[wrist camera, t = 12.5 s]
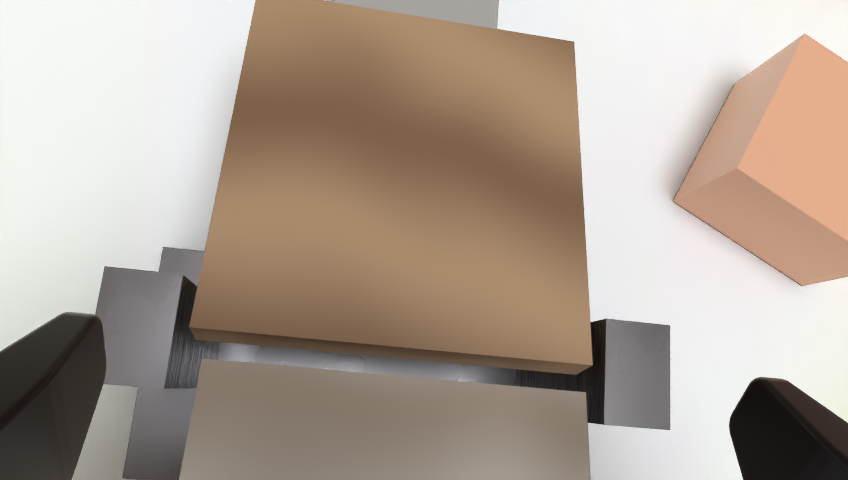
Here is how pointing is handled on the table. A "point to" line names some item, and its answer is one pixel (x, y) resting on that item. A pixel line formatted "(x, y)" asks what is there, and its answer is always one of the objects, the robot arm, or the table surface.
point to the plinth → (781, 164)
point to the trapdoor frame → (328, 363)
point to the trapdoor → (394, 252)
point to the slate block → (439, 9)
